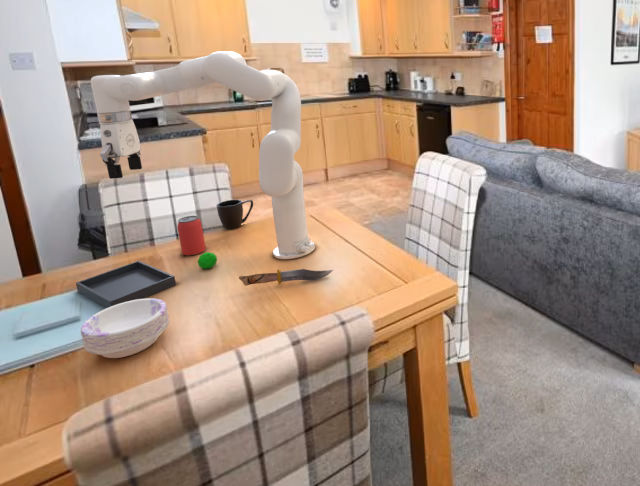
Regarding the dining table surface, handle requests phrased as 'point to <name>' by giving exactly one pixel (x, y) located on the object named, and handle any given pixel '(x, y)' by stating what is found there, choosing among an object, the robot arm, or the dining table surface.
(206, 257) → the lime
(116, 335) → the paper bowls
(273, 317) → the dining table surface
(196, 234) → the beer can
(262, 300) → the dining table surface
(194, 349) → the dining table surface
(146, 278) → the tray
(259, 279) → the knife
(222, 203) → the mug
